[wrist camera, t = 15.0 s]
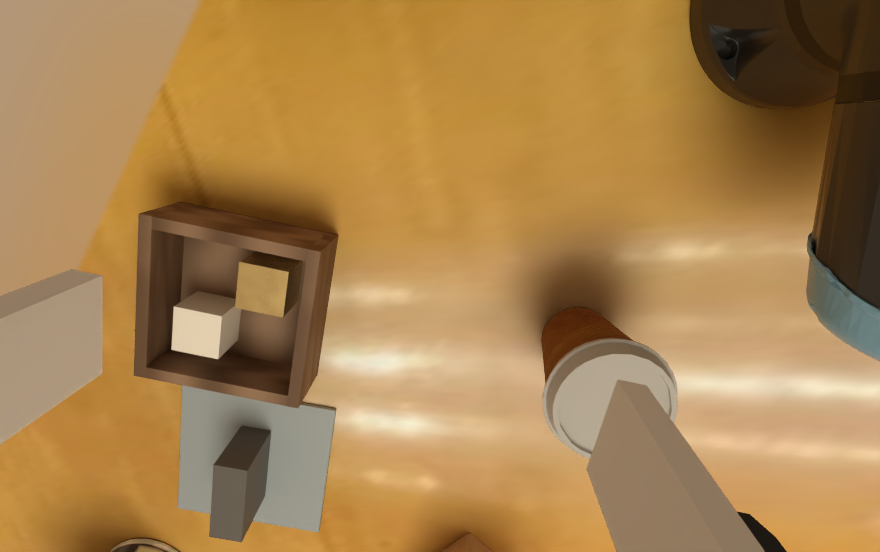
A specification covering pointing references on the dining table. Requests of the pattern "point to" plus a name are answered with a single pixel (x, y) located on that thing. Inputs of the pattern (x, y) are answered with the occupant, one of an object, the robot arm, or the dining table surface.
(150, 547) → the coffee can
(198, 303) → the off-white block
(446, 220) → the dining table surface
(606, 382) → the disposable coffee cup
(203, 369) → the box
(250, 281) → the brass block
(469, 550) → the sandwich container
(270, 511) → the lid
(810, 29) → the robot arm
